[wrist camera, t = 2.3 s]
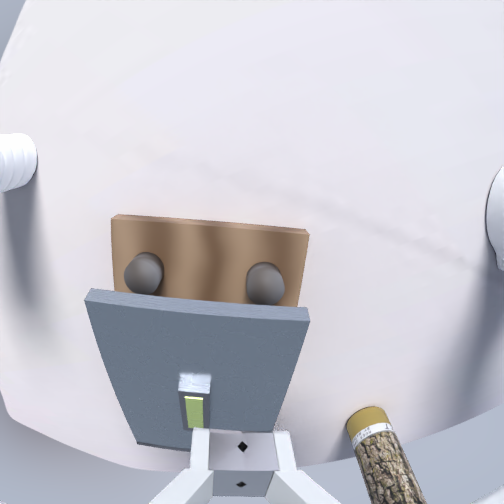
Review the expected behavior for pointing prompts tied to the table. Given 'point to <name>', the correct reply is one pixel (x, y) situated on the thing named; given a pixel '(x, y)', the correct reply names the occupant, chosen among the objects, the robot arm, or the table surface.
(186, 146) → the table surface
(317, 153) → the table surface
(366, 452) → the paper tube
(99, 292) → the plate
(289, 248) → the leveling base
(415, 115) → the table surface
